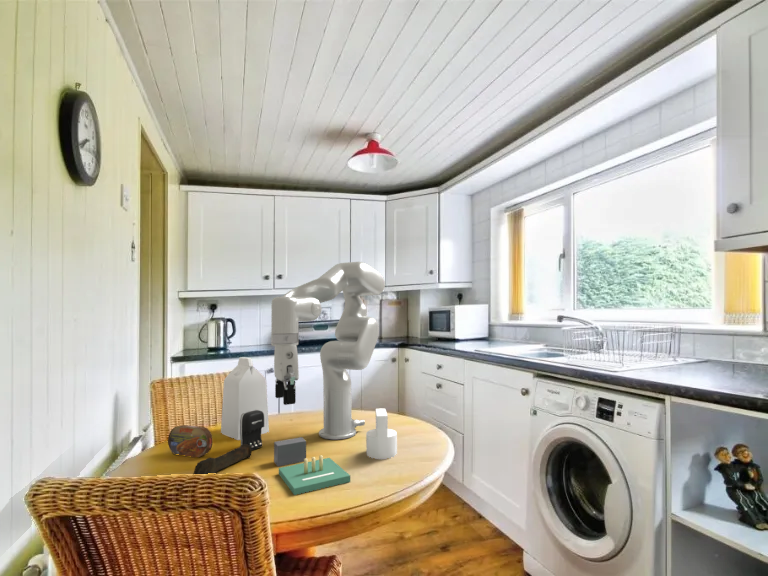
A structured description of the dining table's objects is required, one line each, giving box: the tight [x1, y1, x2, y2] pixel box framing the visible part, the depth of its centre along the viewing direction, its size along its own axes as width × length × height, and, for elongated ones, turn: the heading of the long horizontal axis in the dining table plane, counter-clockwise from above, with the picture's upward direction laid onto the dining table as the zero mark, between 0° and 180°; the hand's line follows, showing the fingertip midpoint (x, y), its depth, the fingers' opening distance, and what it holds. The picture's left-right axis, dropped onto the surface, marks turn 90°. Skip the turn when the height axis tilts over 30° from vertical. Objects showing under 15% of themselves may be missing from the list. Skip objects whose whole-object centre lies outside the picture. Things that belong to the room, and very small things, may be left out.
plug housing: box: [273, 436, 307, 468], centre depth 112 cm, size 8×4×6 cm, turn 119°
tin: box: [167, 424, 213, 458], centre depth 118 cm, size 15×3×8 cm, turn 70°
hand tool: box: [193, 444, 252, 475], centre depth 107 cm, size 19×4×5 cm, turn 156°
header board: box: [278, 454, 351, 496], centre depth 101 cm, size 14×14×5 cm
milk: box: [220, 356, 270, 441], centre depth 140 cm, size 12×12×26 cm
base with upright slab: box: [365, 407, 398, 460], centre depth 117 cm, size 9×9×12 cm
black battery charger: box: [240, 410, 264, 452], centre depth 123 cm, size 7×4×11 cm, turn 146°
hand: (285, 400), depth 113 cm, fingers open, 9 cm apart
